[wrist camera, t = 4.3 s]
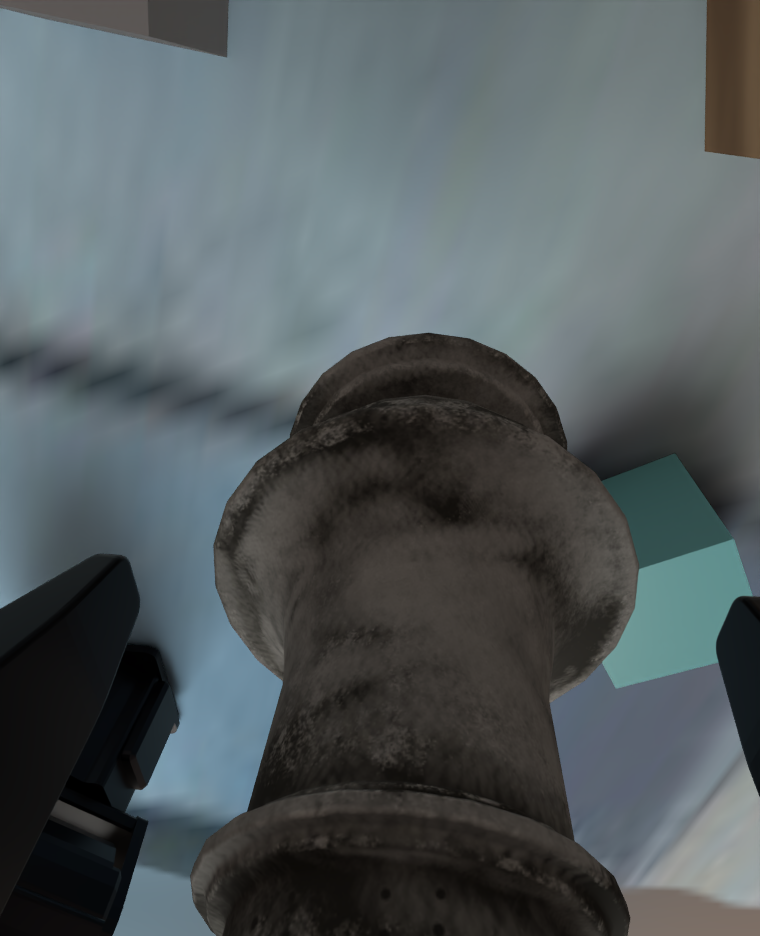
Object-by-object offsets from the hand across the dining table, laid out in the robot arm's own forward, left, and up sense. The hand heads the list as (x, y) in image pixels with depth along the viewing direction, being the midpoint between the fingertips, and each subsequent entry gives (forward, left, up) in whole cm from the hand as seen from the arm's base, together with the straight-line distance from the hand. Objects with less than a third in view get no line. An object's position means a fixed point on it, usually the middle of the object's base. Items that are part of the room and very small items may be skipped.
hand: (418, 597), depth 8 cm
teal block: (+8, -8, -13) cm, 17 cm away
